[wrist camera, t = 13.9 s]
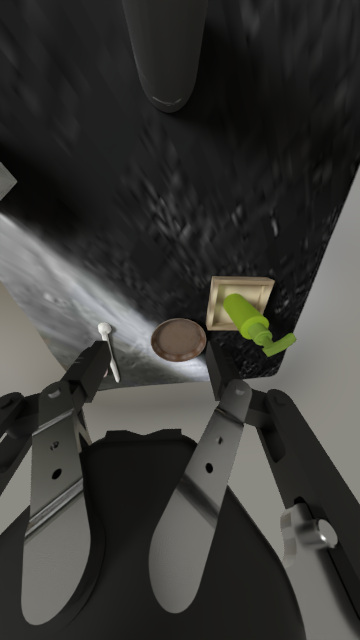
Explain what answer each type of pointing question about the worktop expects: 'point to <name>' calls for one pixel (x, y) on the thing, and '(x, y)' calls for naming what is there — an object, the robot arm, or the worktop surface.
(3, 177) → the supplement box
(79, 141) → the worktop surface
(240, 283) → the birch crate
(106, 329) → the white ball-headed stick
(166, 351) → the plant saucer
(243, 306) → the soap dispenser
